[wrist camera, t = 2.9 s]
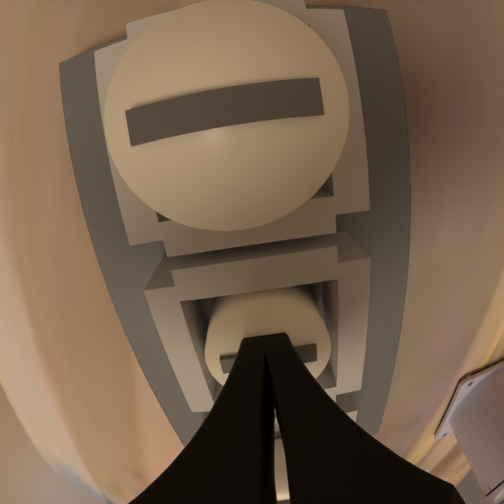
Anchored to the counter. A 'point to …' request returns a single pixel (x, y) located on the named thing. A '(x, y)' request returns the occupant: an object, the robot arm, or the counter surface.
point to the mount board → (261, 232)
